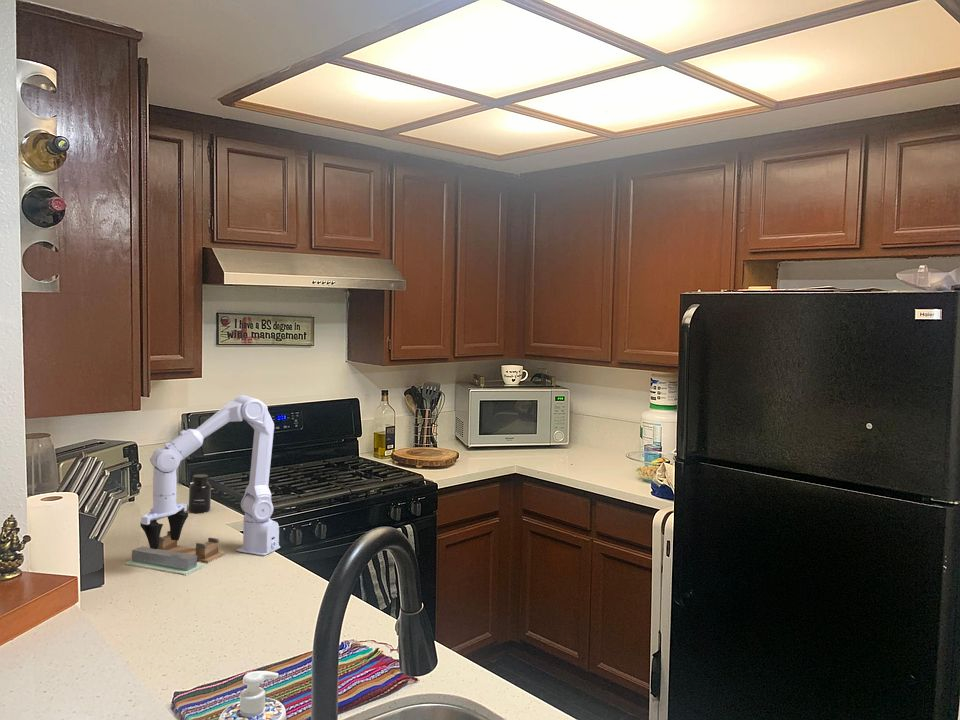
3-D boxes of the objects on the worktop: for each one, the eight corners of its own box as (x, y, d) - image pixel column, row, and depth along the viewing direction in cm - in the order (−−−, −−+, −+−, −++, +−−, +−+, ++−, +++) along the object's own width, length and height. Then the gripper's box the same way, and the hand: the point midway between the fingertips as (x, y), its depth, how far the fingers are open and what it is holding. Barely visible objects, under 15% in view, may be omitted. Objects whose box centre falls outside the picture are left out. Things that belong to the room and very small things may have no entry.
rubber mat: (204, 566, 193) (204, 565, 193) (186, 575, 187) (186, 573, 186) (143, 556, 199) (143, 554, 199) (123, 564, 193) (124, 562, 193)
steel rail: (196, 566, 192) (196, 555, 192) (187, 570, 189) (187, 559, 188) (141, 557, 197) (141, 546, 197) (132, 561, 194) (132, 550, 194)
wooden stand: (224, 555, 202) (224, 538, 202) (207, 563, 196) (207, 546, 196) (166, 545, 209) (166, 529, 208) (147, 552, 202) (147, 536, 202)
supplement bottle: (196, 515, 239) (196, 479, 239) (184, 511, 244) (184, 475, 243) (214, 510, 245) (215, 475, 244) (203, 507, 249) (203, 472, 248)
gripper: (172, 485, 200) (172, 534, 201) (131, 498, 186) (131, 550, 187) (193, 488, 198) (193, 537, 199) (153, 501, 184) (153, 554, 185)
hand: (164, 544), depth 193 cm, fingers open, 7 cm apart
